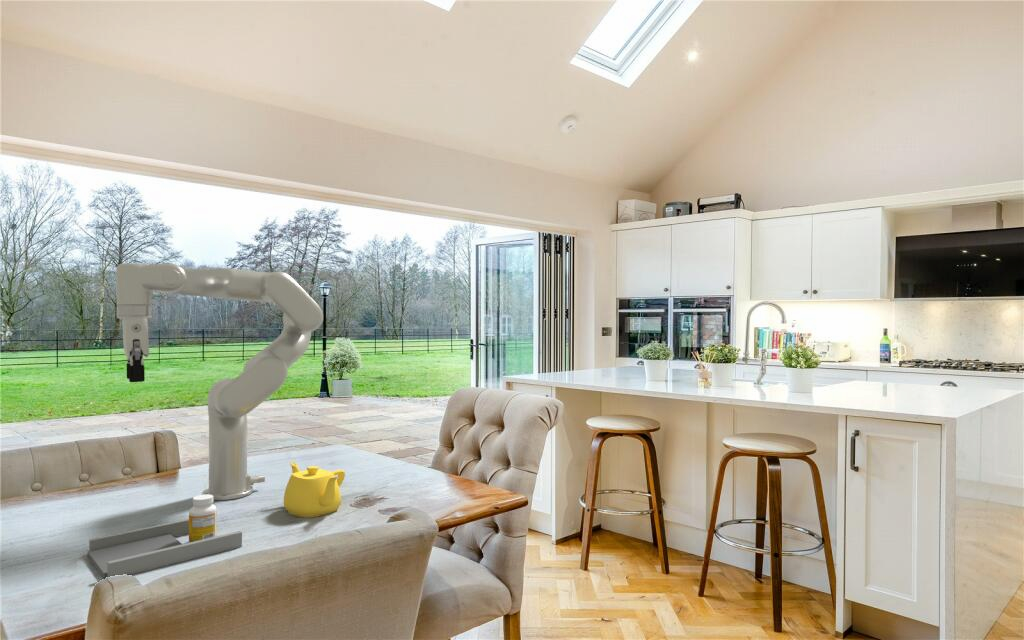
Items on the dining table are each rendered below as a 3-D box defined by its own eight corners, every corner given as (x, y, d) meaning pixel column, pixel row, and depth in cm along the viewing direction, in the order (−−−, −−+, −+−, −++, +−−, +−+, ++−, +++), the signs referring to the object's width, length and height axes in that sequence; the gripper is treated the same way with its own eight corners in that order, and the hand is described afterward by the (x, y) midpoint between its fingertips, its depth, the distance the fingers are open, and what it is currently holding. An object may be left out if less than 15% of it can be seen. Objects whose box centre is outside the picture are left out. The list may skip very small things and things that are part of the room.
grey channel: (213, 526, 142) (213, 513, 142) (241, 546, 130) (242, 532, 130) (86, 554, 125) (86, 539, 125) (105, 580, 112) (105, 564, 112)
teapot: (368, 510, 154) (368, 467, 154) (312, 525, 143) (312, 479, 143) (321, 493, 169) (322, 454, 169) (267, 506, 158) (267, 464, 158)
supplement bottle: (195, 537, 135) (195, 493, 135) (220, 537, 135) (220, 493, 135) (184, 546, 129) (184, 500, 129) (210, 546, 130) (210, 500, 130)
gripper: (155, 312, 150) (156, 382, 150) (148, 312, 164) (149, 376, 164) (118, 312, 145) (119, 384, 145) (115, 312, 159) (116, 378, 160)
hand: (135, 380), depth 155 cm, fingers open, 9 cm apart
